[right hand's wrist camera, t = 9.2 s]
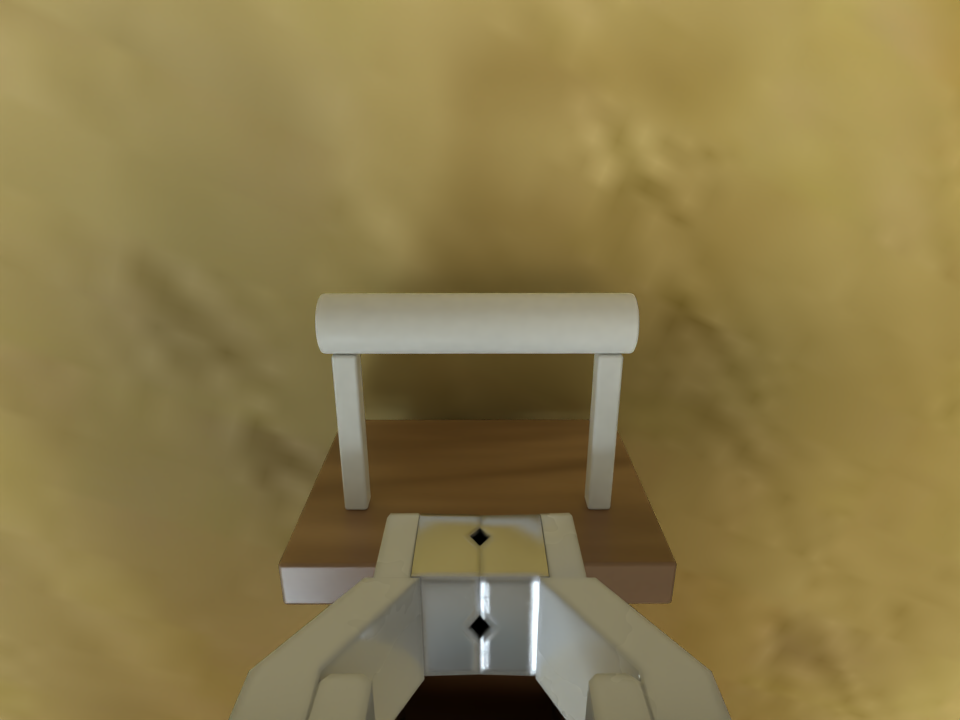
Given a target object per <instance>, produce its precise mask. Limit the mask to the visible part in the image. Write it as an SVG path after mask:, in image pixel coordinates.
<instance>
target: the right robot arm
mask: <svg viewBox="0 0 960 720" xmlns="http://www.w3.org/2000/svg"><path fill="white" fill-rule="evenodd" d="M474 674H484V675H520V676H536V680H537V681H538V683H539V684H540V685H541V687H542V688H543V689H544V691H545V692H546V693H547V695H548V696H549V698H550V699H551V700H552V702H553V703H554V704H555V706H556V707H557V708H558V710H559V711H560V713H561V714H562V715H563V717H564V718H565V719H566V720H731V717H730V715H729V712H728V710H727V708H726V705H725V703H724V700H723V698H722V696H721V693H720V691H719V688H718V686H717V684H716V681H715V679H714V676H713V674H712V672H711V671H710V670H709V669H708V668H707V667H705V666H704V665H703V664H702V663H700V662H699V661H698V660H697V659H695V658H694V657H693V656H692V655H690V654H689V653H688V652H687V651H686V650H684V649H683V648H682V647H681V646H679V645H678V644H677V643H676V642H674V641H673V640H672V639H671V638H670V637H668V636H667V635H666V634H665V633H663V632H662V631H661V630H660V629H658V628H657V627H656V626H655V625H653V624H652V623H651V622H650V621H649V620H647V619H646V618H645V617H644V616H642V615H641V614H640V613H639V612H637V611H636V610H635V609H634V608H633V607H631V606H630V605H629V604H628V603H626V602H625V601H624V600H623V599H621V598H620V597H619V596H618V595H616V594H615V593H614V592H613V591H612V590H610V589H609V588H608V587H607V586H605V585H604V584H603V583H602V582H600V581H599V580H598V579H597V578H587V577H586V572H585V568H584V564H583V560H582V555H581V551H580V547H579V543H578V538H577V534H576V530H575V526H574V521H573V517H572V515H571V514H570V513H547V514H531V515H479V514H431V513H421V515H420V514H419V513H390V515H389V516H388V517H387V521H386V525H385V529H384V534H383V538H382V542H381V546H380V551H379V555H378V559H377V564H376V568H375V572H374V577H373V578H363V579H362V580H361V581H360V582H358V583H357V584H356V585H355V586H353V587H352V588H351V589H350V590H348V591H347V592H346V593H345V594H343V595H342V596H341V597H340V598H339V599H337V600H336V601H335V602H334V603H332V604H331V605H330V606H329V607H327V608H326V609H325V610H324V611H322V612H321V613H320V614H319V615H317V616H316V617H315V618H314V619H312V620H311V621H310V622H309V623H308V624H306V625H305V626H304V627H303V628H301V629H300V630H299V631H298V632H296V633H295V634H294V635H293V636H291V637H290V638H289V639H288V640H286V641H285V642H284V643H283V644H281V645H280V646H279V647H278V648H277V649H275V650H274V651H273V652H272V653H270V654H269V655H268V656H267V657H265V658H264V659H263V660H262V661H260V662H259V663H258V664H257V665H255V666H254V667H253V668H252V669H250V670H249V672H248V675H247V677H246V679H245V682H244V684H243V687H242V689H241V691H240V694H239V696H238V698H237V701H236V703H235V706H234V708H233V710H232V713H231V715H230V717H229V720H395V718H396V717H397V716H398V714H399V713H400V712H401V710H402V709H403V708H404V706H405V705H406V704H407V702H408V701H409V700H410V698H411V697H412V695H413V694H414V693H415V691H416V690H417V689H418V687H419V686H420V685H421V683H422V682H423V681H424V676H440V675H474Z"/></svg>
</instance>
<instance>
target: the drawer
mask: <svg viewBox="0 0 960 720" xmlns="http://www.w3.org/2000/svg"><path fill="white" fill-rule="evenodd" d="M315 329H316V338H317V343H318V346H319V349H320V351H321V352H322V353H324V354H333V356H332V369H333V380H334V391H335V402H336V413H337V424H338V432H337V434H336V436H335V438H334V441H333V443H332V445H331V447H330V450H329V452H328V454H327V456H326V459H325V461H324V463H323V465H322V468H321V470H320V472H319V474H318V477H317V479H316V481H315V483H314V486H313V488H312V490H311V492H310V495H309V497H308V499H307V502H306V504H305V506H304V508H303V511H302V513H301V515H300V517H299V520H298V522H297V524H296V526H295V529H294V531H293V533H292V535H291V538H290V540H289V542H288V544H287V547H286V549H285V551H284V553H283V556H282V558H281V560H280V562H279V572H280V580H281V587H282V594H283V601H284V603H285V604H332V603H334V602H335V601H336V600H337V599H339V598H340V597H341V596H342V595H343V594H345V593H346V592H347V591H348V590H350V589H351V588H352V587H353V586H355V585H356V584H357V583H358V582H360V581H361V580H362V579H363V578H373V577H374V572H375V568H376V564H377V559H378V555H379V551H380V546H381V542H382V538H383V534H384V529H385V525H386V521H387V517H388V516H389V515H390V513H419V514H420V515H421V513H431V514H479V515H531V514H547V513H570V514H571V515H572V517H573V521H574V526H575V530H576V534H577V538H578V543H579V547H580V551H581V555H582V560H583V564H584V568H585V572H586V577H587V578H597V579H598V580H599V581H600V582H602V583H603V584H604V585H605V586H607V587H608V588H609V589H610V590H612V591H613V592H614V593H615V594H616V595H618V596H619V597H620V598H621V599H623V600H624V601H625V602H626V603H628V604H668V603H671V601H672V594H673V587H674V579H675V572H676V565H677V564H676V562H675V559H674V557H673V555H672V553H671V550H670V548H669V546H668V543H667V541H666V539H665V537H664V534H663V532H662V530H661V528H660V525H659V523H658V521H657V519H656V516H655V514H654V512H653V509H652V507H651V505H650V503H649V500H648V498H647V496H646V494H645V491H644V489H643V487H642V485H641V482H640V480H639V478H638V475H637V473H636V471H635V469H634V466H633V464H632V462H631V460H630V457H629V455H628V453H627V451H626V448H625V446H624V444H623V441H622V439H621V437H620V435H619V432H618V430H617V424H618V413H619V401H620V390H621V378H622V367H623V356H622V354H621V353H632V352H633V351H634V350H635V348H636V345H637V341H638V335H639V309H638V303H637V300H636V297H635V295H634V294H632V293H323V294H321V295H320V297H319V299H318V302H317V306H316V315H315ZM566 353H595V354H594V368H593V383H592V397H591V412H590V420H365V411H364V397H363V383H362V369H361V356H360V354H566ZM395 720H566V719H565V718H564V717H563V715H562V714H561V713H560V711H559V710H558V708H557V707H556V706H555V704H554V703H553V702H552V700H551V699H550V698H549V696H548V695H547V693H546V692H545V691H544V689H543V688H542V687H541V685H540V684H539V683H538V681H537V680H536V676H520V675H484V674H474V675H440V676H424V681H423V682H422V683H421V685H420V686H419V687H418V689H417V690H416V691H415V693H414V694H413V695H412V697H411V698H410V700H409V701H408V702H407V704H406V705H405V706H404V708H403V709H402V710H401V712H400V713H399V714H398V716H397V717H396V718H395Z"/></svg>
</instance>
